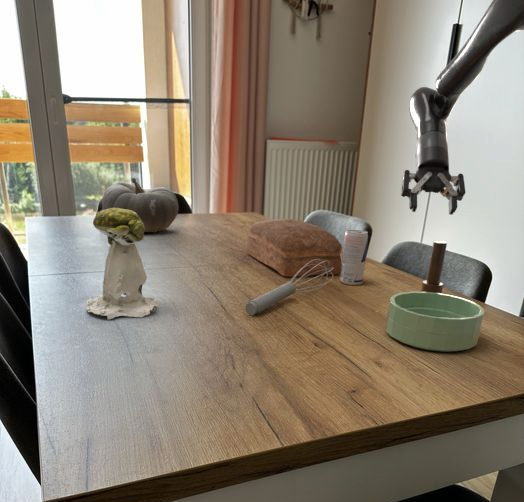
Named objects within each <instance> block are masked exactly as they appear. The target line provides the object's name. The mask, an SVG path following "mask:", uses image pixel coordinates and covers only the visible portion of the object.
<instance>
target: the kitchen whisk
mask: <svg viewBox="0 0 524 502" xmlns="http://www.w3.org/2000/svg"><path fill="white" fill-rule="evenodd" d="M314 260H319V259H314ZM312 261H313V260H312ZM320 261H322V260H320ZM310 262H311V261H310ZM310 262H309V263H310ZM323 262H325V261H323ZM323 262H321V263H323ZM321 263H319V264H321ZM307 264H308V263H307ZM307 264H306V265H307ZM319 264H318V265H319ZM323 264H324V263H323ZM306 265H305V266H304V267H306ZM311 265H316V266H317V264H311ZM328 265H329V261H328ZM307 266H309V265H307ZM316 266H315V267H316ZM319 266H321V265H319ZM324 266H325V264H324ZM304 267H303V268H304ZM322 267H323V266H322ZM327 267H328V266H327ZM303 268H302V269H303ZM313 268H314V267H313ZM313 268H312V269H313ZM324 268H326V267H324ZM302 269H300V270H299V271H298V272H297V273H296V274H298V273H299V272H300V271H301V270H302ZM312 269H311V270H312ZM328 269H330V268H326V269H324V270H325V271H326V273H327V270H328ZM331 270H332V269H331ZM331 270H330V272H331ZM309 271H310V270H309ZM309 271H308V272H309ZM320 271H322V270H320ZM308 272H307V273H308ZM317 272H319V271H317ZM328 272H329V270H328ZM314 273H316V272H314ZM296 274H295V275H296ZM305 274H306V273H305ZM305 274H304V275H305ZM312 274H313V273H312ZM324 274H325V272H324ZM324 274H322V275H316V276H315V277H312V278H311V279H308V280H306V281H304V282H302V283H299V284H297V285H295V284H296V283H298V282H299V281H301V280H303V279H304V278H307V277H310V276H312V275H311V274H310V276H309V275H307V276H304V275H303V276H299V278H298V279H297V280H296V281H294V280H295V278H296V277H298V276H297V275H296V276H295V275H294V276H293V277H291V278H290V281H287V282H285V283H283V284H281V285H279V286H278V287H276V288H273V289H270V290H269V291H267V292H266V293H263V294H261V295H259V296H257V297H256V298H254V299H252V300H249V301H247V302H246V303H245V304H244V305H243V307H242V312H243V315H244V316H245V317H247V318H251V317H254V316H255V315H258V314H259V313H261V312H263V311H264V310H266V309H268V308H270V307H273V306H274V305H276V304H277V303H279V302H281V301H283V300H285V299H286V298H288V297H290V296H292V295H294V294H295V293H309V292H313V291H318V290H320V289H322V288H323V287H324V286H325V285H326V284H328V283H330V282H331V281H332V280H333V279H334V274H332V272H331V274H332V276H331V277H332V278H331V279H330V280H328V279H326V280H325V282H324V283H321V284H317V283H318V281H320V280H321V278H322V277H323V276H325V275H324ZM328 276H329V275H328V274H327V275H326V278H328ZM319 277H320V278H319ZM317 278H319V279H318V280H317V281H315V282H314V283H312V284H311V285H309V286H306V287H304V288H296V287H298V286H301V285H303V284H305V283H309V282H310V281H312V280H314V279H317ZM293 281H294V282H293ZM316 284H317V285H316ZM313 285H314V286H313ZM319 286H320V287H319ZM316 287H319V288H316ZM312 288H316V289H312ZM306 289H311V290H306ZM302 290H305V291H302ZM245 312H246V313H247V314H248V315H247V314H246V313H245Z"/></svg>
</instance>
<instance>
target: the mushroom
mask: <svg viewBox="0 0 524 502" xmlns="http://www.w3.org/2000/svg"><path fill="white" fill-rule="evenodd" d="M92 225H93V227H95V229H96V230H98V231H99V232H100V233H101V234H103V235H105V236H107V242H108V244H109V248H108V251H107V255H106V258H105V263H104V274H103V281H102V294H99V295H97V296H95V297H94V298H88V299H87V300H86V303H85V305H86V308H85V311H87V312H88V313H93V314H94V315H100V316H106V317H107V320H111V319H115V318H116V317H117V318H118V317H122V316H124V317H129V318H131V317H132V318H133V317H135V318H143V317H145V316H148V315H151V312H152V311H153V310H154V311H155V312H157V309H156V307H158V300H155V297H152V296H151V297H149V296H143V292H142V291H143V286H144V285H145V284H146V282H147V280H148V276H147V273H146V270H145V267H146V265H145V264H146V263H145V262H144V261H142V258H141V255H140V252H139V250H138V247H137V244H136V243H138V242H141V241H143V240H144V238H145V233H144V232H145V227H144V224H143V222H142V221H141V219H140V218H139V216H138V215H137V214H136V213H135V212H133V211H131V210H128V209H121V208H110V209H106V210H103V209H101V210H100V211H97V212H96V213H95V216H94V218H93V221H92ZM104 254H106V252H105V253H104Z"/></svg>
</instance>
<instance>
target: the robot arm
mask: <svg viewBox="0 0 524 502" xmlns="http://www.w3.org/2000/svg"><path fill="white" fill-rule="evenodd" d="M520 31H521V32H522V31H524V0H492V1H491V2H490V4H489V6H488V8H487V10H486V11H485V13H484V14H483V16H482V18H481V19H480V20H479V22H478V24H477V25H476V27H475V28H474V30H473V32H472V33H471V34H470V36H469V37H468V39H467V40H466V41H465V43H464V44H463V46H462V47H461V48H460V50H459V51H458V52H457V53H456V55H454V57H453V58H452V59H451V60H450V62H448V63H447V65H446V66H445V67H444V69H442V71H440V73H439V74H438V75H437V78H436V79H435V89H434V88H431V87H428V86H421V87H419V88H417V89H416V90H414V92H413V94H412V95H411V97H410V100H409V105H408V106H409V107H408V109H409V110H408V111H409V115H410V119H411V122H412V124H413V127H414V130H415V132H416V147H415V155H414V156H415V173H414V172H411V171H410V170H409V169H405V170H404V172H403V176H402V178H401V179H402V180H401V190H400V196H401V197H402V198H403V197H407V198H408V199H409V200H408V208H409V210H411V213H416V211H417V209H418V196H419V195H420V194H421V193H422V192H424V193H434V194H440V195H441V196H442V197H444V198H446V199H447V200H448V202H447V203H448V215H453V214H454V213H456V212H457V210H458V202H460V201H463V199H464V197H465V194H466V186H465V178H464V177H465V176H464V174H463V173H458V175H451V173H450V160H449V159H450V157H449V142H448V138H447V137H448V134H447V124H446V120H447V119H448V118H449V117H450V116H451V113H452V111H453V109H454V108H455V106H456V103H457V102H458V101H459V98H460V97H461V95H462V94H463V93H464V92H465V91H466V90H467V89H468V88H469V87H470V85H472V83H474V82H475V80H476V79H477V78H478V77H479V76H480V75H481V72H482V71H483V69H484V67H485V65H486V63H487V60H488V58H489V56H490V54H491V53H492V52H493V50H495V48H496V47H497V46H498V45H499V44H501V43H502V42H503V41H504V40H505V39H507V38H508V37H509V36H511V35H512V34H513V33H515V32H520ZM412 180H414V183H416V185H414V187H412V189H411V188H409V187H410V183H411V182H412Z"/></svg>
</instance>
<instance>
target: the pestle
mask: <svg viewBox="0 0 524 502" xmlns="http://www.w3.org/2000/svg"><path fill="white" fill-rule="evenodd" d="M447 245H448V242H447V241H443V240H434V241H433V242H432V248H431V254H430V259H429V265H428V271H427V277H426V279H425V280H423V281H422V282H421V283H422V284H421V291H420V292H432V293H440V294H443V288H444V283H443V282H441V279H442V273H443V269H444V268H443V267H444V261H445V256H446V251H447Z"/></svg>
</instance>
